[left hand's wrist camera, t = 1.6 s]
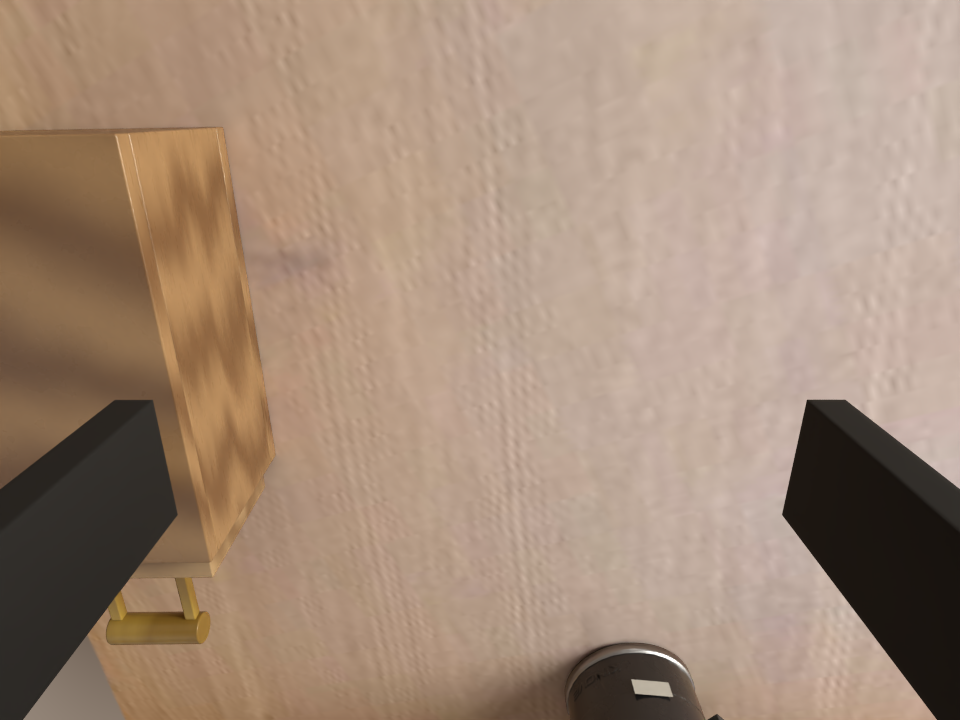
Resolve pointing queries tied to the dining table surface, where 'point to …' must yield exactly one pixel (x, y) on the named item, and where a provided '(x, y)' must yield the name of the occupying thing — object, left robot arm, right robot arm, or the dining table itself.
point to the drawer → (190, 621)
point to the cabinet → (132, 312)
